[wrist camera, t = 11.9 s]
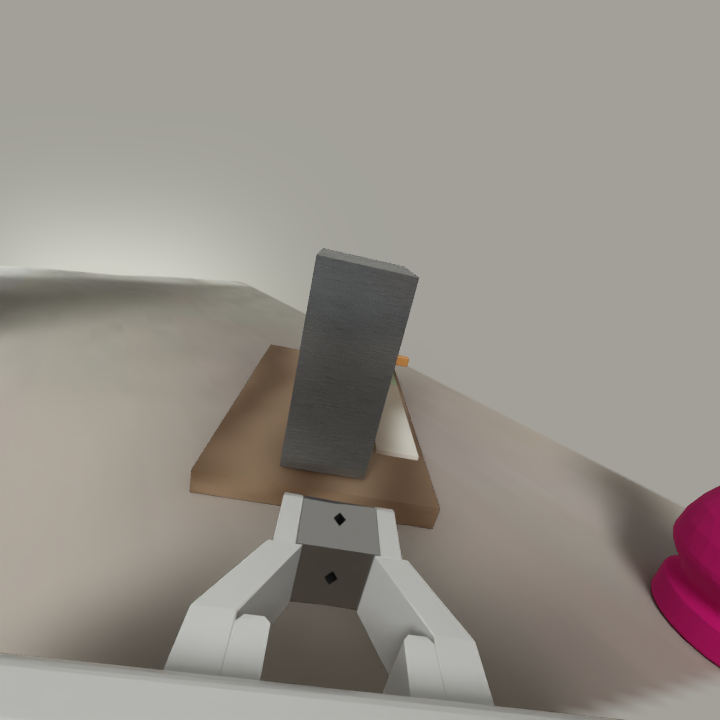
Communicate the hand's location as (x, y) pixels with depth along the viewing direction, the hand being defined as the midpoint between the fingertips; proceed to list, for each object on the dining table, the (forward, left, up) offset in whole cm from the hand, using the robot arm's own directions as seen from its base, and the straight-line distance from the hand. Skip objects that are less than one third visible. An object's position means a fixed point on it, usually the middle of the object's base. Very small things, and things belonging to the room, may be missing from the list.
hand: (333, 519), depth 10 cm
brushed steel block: (0, +15, -6) cm, 16 cm away
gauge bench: (0, +20, -8) cm, 21 cm away
